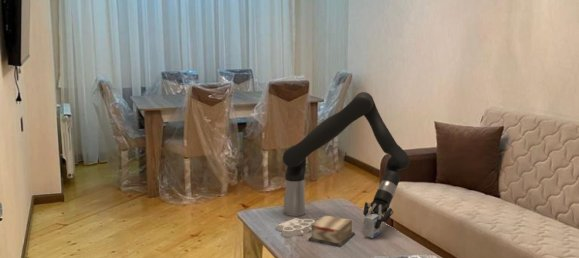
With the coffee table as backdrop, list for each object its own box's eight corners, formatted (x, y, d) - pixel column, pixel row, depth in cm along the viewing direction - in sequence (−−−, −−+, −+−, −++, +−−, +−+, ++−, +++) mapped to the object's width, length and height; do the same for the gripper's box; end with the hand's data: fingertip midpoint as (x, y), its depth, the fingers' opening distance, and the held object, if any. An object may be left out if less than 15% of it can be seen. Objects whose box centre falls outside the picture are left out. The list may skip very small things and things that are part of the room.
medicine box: (372, 238, 250) (373, 219, 248) (363, 236, 253) (363, 217, 251) (381, 232, 256) (382, 214, 254) (372, 230, 259) (373, 212, 257)
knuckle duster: (298, 221, 274) (321, 229, 264) (270, 232, 262) (293, 241, 251) (298, 214, 273) (321, 222, 263) (270, 225, 261) (293, 233, 251)
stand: (308, 240, 250) (308, 225, 249) (323, 229, 263) (323, 214, 262) (340, 247, 243) (340, 231, 242) (354, 234, 256) (354, 219, 254)
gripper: (368, 185, 260) (353, 219, 254) (396, 191, 252) (381, 226, 245) (374, 194, 266) (359, 227, 259) (402, 200, 257) (388, 234, 250)
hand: (370, 226), depth 252 cm, fingers closed on medicine box, 4 cm apart
